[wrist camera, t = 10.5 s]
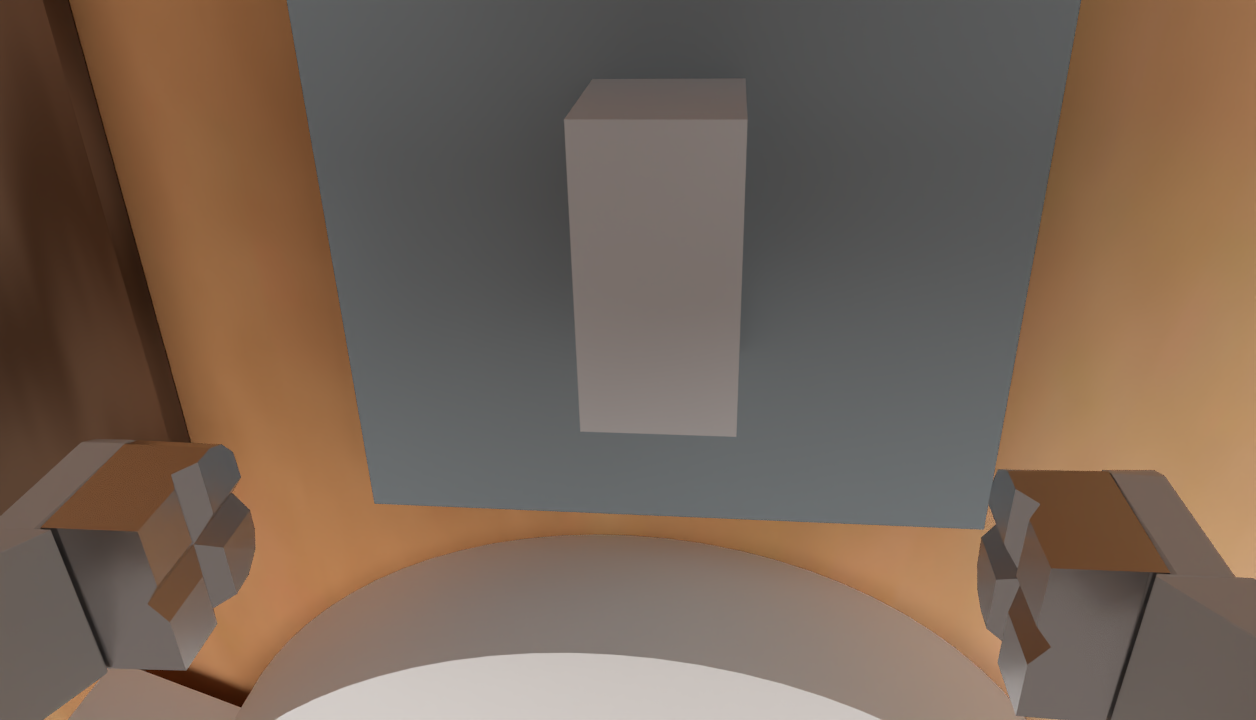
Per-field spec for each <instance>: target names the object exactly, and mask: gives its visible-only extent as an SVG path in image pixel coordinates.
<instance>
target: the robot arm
mask: <svg viewBox="0 0 1256 720" xmlns="http://www.w3.org/2000/svg"><path fill="white" fill-rule="evenodd" d="M240 478H241V476H240V473H239V470H238V466H237V463H236V460H235V457H234V454H233V452H232V451H230V450H229V449H227V448H226V447H224V446H223V445H222V444H203V443H184V442H165V441H145V440H138V441H134V440H124V439H93V440H88V441H84V442H81V443H80V444H79V445H78V446H77V447H75V448H74V449H73V450H72V451H71V452H70V453H69V454H68V455H67V456H66V457H64V458H63V459H62V460H61V461H60V462H59V463H58V464H57V465H56V466H55V467H54V468H52V469H51V470H50V471H49V472H48V473H47V474H46V475H45V476H44V477H43V478H42V479H40V480H39V481H38V482H37V483H36V484H35V485H34V486H33V487H32V488H31V489H30V490H28V491H27V492H26V493H25V494H24V495H23V496H22V497H21V498H20V499H19V500H17V501H16V502H15V503H14V504H13V505H12V506H11V507H10V508H9V509H8V510H7V511H5V512H4V513H3V514H2V515H1V516H0V720H43V719H45V718H46V717H47V716H49V715H50V714H52V713H53V712H54V711H56V710H57V709H58V708H60V707H61V706H63V705H64V704H65V703H67V702H68V701H69V700H71V699H72V698H74V697H75V696H76V695H78V694H79V693H80V692H82V691H83V690H85V689H86V688H87V687H89V686H90V685H92V684H93V683H94V682H96V681H97V680H98V679H100V678H101V677H103V676H104V675H105V674H107V672H108V670H107V669H146V670H185V671H186V670H187V669H188V667H189V666H190V664H191V663H192V661H193V660H194V658H195V657H196V655H197V654H198V652H199V651H200V649H201V648H202V646H203V645H204V643H205V641H206V640H207V638H208V637H209V635H210V634H211V632H212V631H213V629H214V628H215V626H216V625H217V621H216V617H215V613H214V609H213V608H214V607H216V606H218V605H219V604H221V603H223V602H224V601H226V600H227V599H229V598H231V597H232V596H234V595H236V594H237V593H238V591H239V589H240V588H241V586H242V585H243V583H244V581H245V580H246V578H247V576H248V575H249V571H250V568H251V564H252V560H253V556H254V552H255V528H254V524H253V520H252V516H251V512H250V510H249V509H248V508H247V507H246V506H245V505H244V504H243V503H242V502H241V501H240V500H239V499H238V498H237V497H236V496H235V495H234V494H233V493H232V492H233V491H234V489H235V487H236V485H237V483H238V482H239V480H240ZM988 504H989V506H990V509H991V511H992V514H993V517H994V519H995V522H996V525H995V526H994V527H993V528H992V529H990V530H989V531H988V532H987V533H986V534H985V535H984V536H983V537H981V543H980V550H979V556H978V563H977V590H978V596H979V602H980V608H981V612H982V615H983V618H984V622H985V625H986V628H987V629H988V630H989V631H990V632H992V633H993V634H994V635H995V636H996V637H998V638H999V639H1000V640H1001V641H1002V644H1001V649H1000V654H999V659H998V665H999V668H1000V671H1001V674H1002V677H1003V680H1004V683H1005V685H1006V688H1007V691H1008V694H1009V697H1010V700H1011V703H1012V706H1013V709H1014V712H1015V715H1016V716H1023V717H1035V718H1048V719H1060V720H1256V580H1255V579H1253V578H1239V577H1235V575H1234V574H1233V573H1232V571H1231V570H1230V568H1229V567H1228V565H1227V564H1226V563H1225V561H1224V560H1223V558H1222V557H1221V556H1220V554H1219V553H1218V551H1217V550H1216V548H1215V547H1214V546H1213V544H1212V543H1211V541H1210V540H1209V538H1208V537H1207V536H1206V534H1205V533H1204V531H1203V530H1202V528H1201V527H1200V526H1199V524H1198V523H1197V521H1196V520H1195V518H1194V517H1193V516H1192V514H1191V513H1190V511H1189V510H1188V508H1187V507H1186V506H1185V504H1184V503H1183V501H1182V500H1181V498H1180V497H1179V496H1178V494H1177V493H1176V491H1175V490H1174V488H1173V487H1172V486H1171V484H1170V483H1169V481H1168V480H1167V478H1166V477H1165V476H1164V475H1162V474H1160V473H1159V472H1157V471H1155V470H1102V471H1060V470H998V471H997V473H996V475H995V478H994V480H993V482H992V486H991V491H990V496H989V501H988Z"/></svg>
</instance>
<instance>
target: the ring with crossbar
mask: <svg viewBox="0 0 1256 720" xmlns="http://www.w3.org/2000/svg"><path fill="white" fill-rule="evenodd" d="M107 670H108V672H107V674H105V675H104V676H103V677H101V678H100V680H99V681H98V682H97V683H96V685H95V686H94V687H93V689H92V690H91V691H90V692H89V694H88V695H87V696H86V697H85V699H84V700H83V701H82V703H81V704H80V705H79V706H78V708H77V709H76V710H75V711H74V713H73V714H72V715H71V716H70V718H69V719H68V720H1026V719H1025V717H1023V716H1016V715H1015V712H1014V709H1013V706H1012V703H1011V700H1010V699H1009V698H1008V696H1007V695H1006V694H1005V693H1004V692H1003V691H1002V690H1001V688H1000V687H999V686H997V685H996V684H995V683H994V682H993V681H992V680H991V679H990V678H989V677H988V676H987V675H986V674H985V673H984V672H983V671H982V670H981V669H980V668H979V667H978V666H976V665H975V664H974V663H973V662H972V661H970V660H969V659H968V658H967V657H966V656H964V655H963V654H962V653H961V652H960V651H958V650H957V649H956V648H955V647H953V646H952V645H950V644H949V643H948V642H946V641H945V640H943V639H942V638H941V637H939V636H938V635H936V634H935V633H934V632H932V631H931V630H929V629H928V628H926V627H924V626H923V625H921V624H920V623H918V622H916V621H915V620H913V619H912V618H910V617H908V616H907V615H905V614H903V613H902V612H900V611H898V610H896V609H894V608H892V607H890V606H889V605H887V604H885V603H883V602H881V601H879V600H877V599H875V598H873V597H871V596H869V595H867V594H865V593H863V592H860V591H858V590H856V589H854V588H852V587H849V586H847V585H845V584H843V583H840V582H838V581H835V580H832V579H830V578H827V577H825V576H822V575H819V574H817V573H814V572H812V571H809V570H806V569H803V568H800V567H796V566H793V565H790V564H787V563H784V562H781V561H778V560H774V559H770V558H767V557H763V556H759V555H755V554H751V553H747V552H743V551H739V550H734V549H729V548H724V547H719V546H714V545H709V544H704V543H697V542H689V541H682V540H675V539H668V538H656V537H644V536H632V535H597V534H595V535H561V536H550V537H538V538H527V539H520V540H513V541H506V542H500V543H493V544H488V545H483V546H479V547H474V548H469V549H465V550H460V551H457V552H453V553H449V554H446V555H442V556H439V557H435V558H432V559H429V560H426V561H423V562H420V563H417V564H415V565H412V566H409V567H406V568H403V569H401V570H398V571H396V572H394V573H392V574H389V575H387V576H385V577H382V578H380V579H378V580H376V581H374V582H372V583H370V584H368V585H366V586H364V587H362V588H360V589H358V590H357V591H355V592H353V593H351V594H349V595H348V596H346V597H345V598H343V599H341V600H340V601H338V602H337V603H335V604H334V605H332V606H330V607H329V608H327V609H326V610H325V611H323V612H322V613H321V614H319V615H318V616H317V617H315V618H314V619H313V620H312V621H310V622H309V623H308V624H307V625H305V626H304V627H303V628H302V629H301V630H300V631H299V632H298V633H297V634H296V635H294V636H293V637H292V638H291V639H290V640H289V641H288V642H287V643H286V644H285V646H284V647H283V648H282V649H281V650H280V651H279V652H278V653H277V654H276V655H275V657H274V658H273V659H272V661H271V662H270V663H269V665H268V666H267V667H266V669H265V670H264V671H263V673H262V674H261V675H260V677H259V679H258V680H257V682H256V684H255V685H254V687H253V689H252V690H251V692H250V694H249V695H248V697H247V699H246V700H245V702H244V704H243V705H242V707H238V706H235V705H233V704H230V703H227V702H225V701H222V700H219V699H217V698H214V697H212V696H209V695H206V694H204V693H201V692H198V691H196V690H193V689H190V688H188V687H185V686H182V685H180V684H177V683H174V682H172V681H169V680H166V679H164V678H161V677H158V676H156V675H153V674H151V673H148V672H145V671H143V670H140V669H107Z"/></svg>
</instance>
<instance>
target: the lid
mask: <svg viewBox="0 0 1256 720" xmlns="http://www.w3.org/2000/svg"><path fill="white" fill-rule="evenodd" d="M1080 3H1081V0H287V5H288V11H289V17H290V22H291V28H292V34H293V39H294V45H295V51H296V57H297V62H298V68H299V74H300V80H301V85H302V91H303V97H304V102H305V108H306V114H307V120H308V125H309V131H310V137H311V142H312V148H313V154H314V160H315V165H316V171H317V177H318V183H319V188H320V194H321V200H322V205H323V211H324V217H325V223H326V228H327V234H328V240H329V246H330V251H331V257H332V263H333V268H334V274H335V280H336V286H337V291H338V297H339V303H340V308H341V314H342V320H343V326H344V331H345V337H346V343H347V349H348V354H349V360H350V366H351V371H352V377H353V383H354V389H355V394H356V400H357V406H358V412H359V417H360V423H361V429H362V434H363V440H364V446H365V452H366V457H367V463H368V469H369V475H370V480H371V486H372V492H373V497H374V503H375V504H397V505H421V506H444V507H468V508H491V509H514V510H538V511H561V512H585V513H608V514H632V515H655V516H679V517H702V518H726V519H749V520H773V521H796V522H820V523H843V524H867V525H890V526H914V527H937V528H960V529H984V525H985V520H986V514H987V509H988V501H989V496H990V491H991V486H992V482H993V476H994V471H995V465H996V460H997V455H998V449H999V444H1000V438H1001V433H1002V427H1003V422H1004V417H1005V411H1006V406H1007V400H1008V395H1009V389H1010V384H1011V379H1012V373H1013V368H1014V362H1015V357H1016V351H1017V346H1018V340H1019V335H1020V330H1021V324H1022V319H1023V313H1024V308H1025V302H1026V297H1027V292H1028V286H1029V281H1030V275H1031V270H1032V264H1033V259H1034V253H1035V248H1036V243H1037V237H1038V232H1039V226H1040V221H1041V215H1042V210H1043V205H1044V199H1045V194H1046V188H1047V183H1048V177H1049V172H1050V167H1051V161H1052V156H1053V150H1054V145H1055V139H1056V134H1057V128H1058V123H1059V118H1060V112H1061V107H1062V101H1063V96H1064V90H1065V85H1066V80H1067V74H1068V69H1069V63H1070V58H1071V52H1072V47H1073V41H1074V36H1075V31H1076V25H1077V20H1078V14H1079V9H1080Z"/></svg>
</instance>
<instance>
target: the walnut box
mask: <svg viewBox="0 0 1256 720" xmlns="http://www.w3.org/2000/svg"><path fill="white" fill-rule="evenodd" d="M93 439H124V440H134V441H138V440H145V441H165V442H184V443H190V440H189V436H188V433H187V429H186V425H185V422H184V418H183V415H182V411H181V407H180V404H179V400H178V396H177V393H176V389H175V386H174V382H173V378H172V375H171V371H170V368H169V364H168V360H167V357H166V353H165V350H164V346H163V342H162V339H161V335H160V331H159V328H158V324H157V321H156V317H155V313H154V310H153V306H152V303H151V299H150V295H149V292H148V288H147V284H146V281H145V277H144V274H143V270H142V266H141V263H140V259H139V256H138V252H137V248H136V245H135V241H134V238H133V234H132V230H131V227H130V223H129V219H128V216H127V212H126V209H125V205H124V201H123V198H122V194H121V191H120V187H119V183H118V180H117V176H116V172H115V169H114V165H113V162H112V158H111V154H110V151H109V147H108V144H107V140H106V136H105V133H104V129H103V125H102V122H101V118H100V115H99V111H98V107H97V104H96V100H95V97H94V93H93V89H92V86H91V82H90V79H89V75H88V71H87V68H86V64H85V60H84V57H83V53H82V50H81V46H80V42H79V39H78V35H77V32H76V28H75V24H74V21H73V17H72V13H71V10H70V6H69V3H68V0H0V516H1V515H2V514H3V513H4V512H5V511H7V510H8V509H9V508H10V507H11V506H12V505H13V504H14V503H15V502H16V501H17V500H19V499H20V498H21V497H22V496H23V495H24V494H25V493H26V492H27V491H28V490H30V489H31V488H32V487H33V486H34V485H35V484H36V483H37V482H38V481H39V480H40V479H42V478H43V477H44V476H45V475H46V474H47V473H48V472H49V471H50V470H51V469H52V468H54V467H55V466H56V465H57V464H58V463H59V462H60V461H61V460H62V459H63V458H64V457H66V456H67V455H68V454H69V453H70V452H71V451H72V450H73V449H74V448H75V447H77V446H78V445H79V444H80V443H81V442H84V441H88V440H93Z"/></svg>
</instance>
